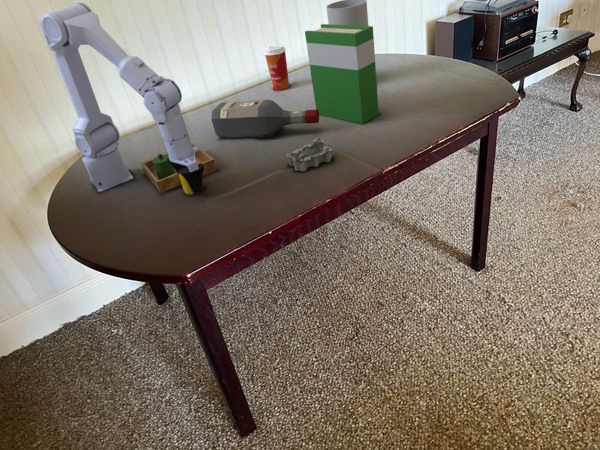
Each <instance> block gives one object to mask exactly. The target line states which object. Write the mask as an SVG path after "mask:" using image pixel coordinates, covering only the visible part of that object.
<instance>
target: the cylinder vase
mask: <svg viewBox="0 0 600 450" xmlns="http://www.w3.org/2000/svg"><path fill="white" fill-rule="evenodd" d="M367 1H368V0H339V1H335V2H332V3H329V4H327V5H326V6H325V8H326V16H327V24H332V25H355V26H369V14H368V13H369V12H368V2H367Z"/></svg>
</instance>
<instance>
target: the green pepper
mask: <svg viewBox="0 0 600 450" xmlns="http://www.w3.org/2000/svg"><path fill="white" fill-rule="evenodd" d="M168 157H169V155H164V154H162V153H158V154H157V156H155V157H154V158H152V159H153V160H152V162H153V165H154V167H155V170H156V173H157V175H158V178H159V180H161V179H163V178H166V177H168V176H171V175H173V174H176V172H175V169H174V167H173V166H172V165H171V164H170V163H169V162H168V161H167V160H166V159H167V158H168Z"/></svg>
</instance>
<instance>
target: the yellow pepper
mask: <svg viewBox="0 0 600 450" xmlns="http://www.w3.org/2000/svg"><path fill="white" fill-rule="evenodd" d="M179 177H180V180H181V183H182V184H181V186H182V188H183V192H184V193H185V194H186V195H195V194H194V193H193V192H192V190H191V188H190V186H189V184H188V183H187V181H186V180H185V178H184V177H183V176H182V175H181V174H180V173H179Z"/></svg>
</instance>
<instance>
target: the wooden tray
mask: <svg viewBox="0 0 600 450" xmlns="http://www.w3.org/2000/svg"><path fill="white" fill-rule="evenodd" d="M191 144H192V147H195V146H196V147H197V148H198V149H199V151H198V152H196V153H195V158H196V162H197V164H200V163H202V164H203V165H204V171H203V175H202V177H203V176H206V175H208V174H210V173H213V172H215V171H217V170H218V168H217V164H216V161H215V159H214V157H212V156H210V155H209V154H208V153H207V152H205V151H204V150H203V149H202V148H200V147H199V146H198V145H197V144H196V143H195V142H193V143H191ZM163 155H169V154H168V152H166V153H164V154H163ZM153 159H154V158H151V159H148V160H146V161H143V162H141V163H140V165H141V168H142V170H143V173H144V174H145V176H146V177H147V178H148V179H149V181H150V182H151V183H152V184H153V186H154V187H155V188H156V189H157V190H158V192H159V193H160V194H163V193H164V192H167V191H169V190H171V189H174V188H176V187H179V186H182V183H181V180H180V177H179V175H178V174H177V172H176V170H175V172H176V174H173V175H171V176H168V177H166V178H163V179H161V180H159V178H158V175H157V173H156V170H155V167H154V165H153V162H152V160H153Z"/></svg>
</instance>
